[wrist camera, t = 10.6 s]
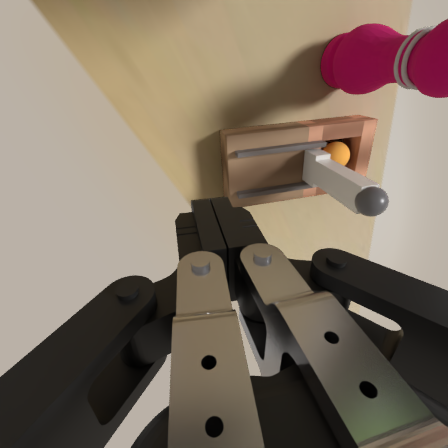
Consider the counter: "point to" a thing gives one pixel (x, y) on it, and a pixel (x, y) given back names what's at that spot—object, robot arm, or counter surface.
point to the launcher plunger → (343, 183)
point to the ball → (338, 152)
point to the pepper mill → (388, 60)
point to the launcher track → (286, 156)
